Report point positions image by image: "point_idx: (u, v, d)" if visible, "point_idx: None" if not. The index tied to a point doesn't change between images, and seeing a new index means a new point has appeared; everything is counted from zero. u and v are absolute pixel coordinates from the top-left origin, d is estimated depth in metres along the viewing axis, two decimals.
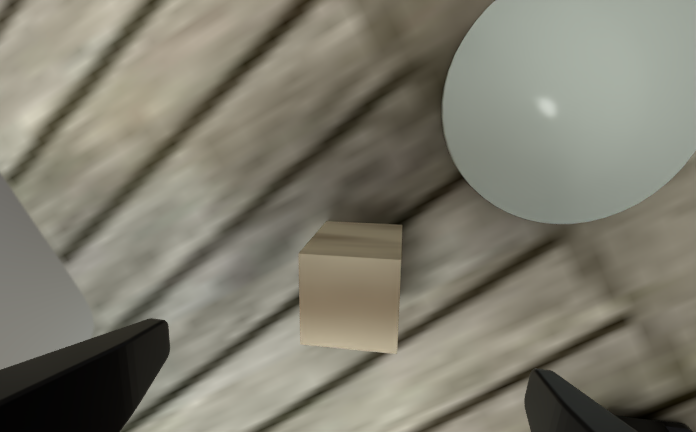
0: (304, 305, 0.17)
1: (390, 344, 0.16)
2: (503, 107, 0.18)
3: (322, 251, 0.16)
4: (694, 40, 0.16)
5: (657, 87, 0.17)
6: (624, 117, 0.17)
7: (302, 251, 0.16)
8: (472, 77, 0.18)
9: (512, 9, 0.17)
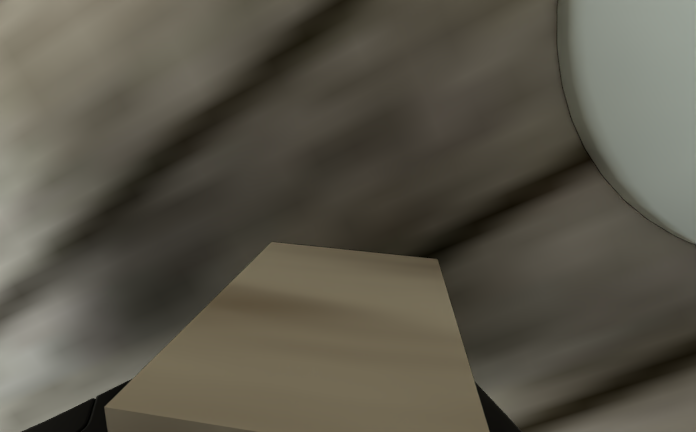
0: None
1: None
2: None
3: (204, 389, 0.05)
4: None
5: None
6: None
7: (130, 388, 0.05)
8: None
9: None
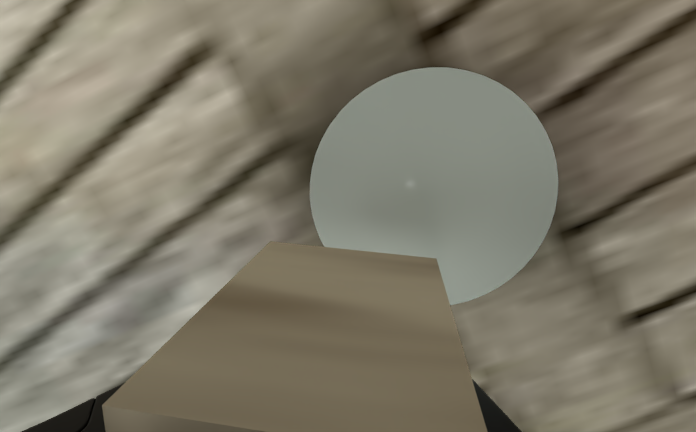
0: None
1: None
2: (364, 195, 0.18)
3: (203, 388, 0.05)
4: (536, 154, 0.17)
5: (502, 192, 0.17)
6: (473, 216, 0.18)
7: (128, 387, 0.05)
8: (336, 164, 0.18)
9: (373, 105, 0.17)
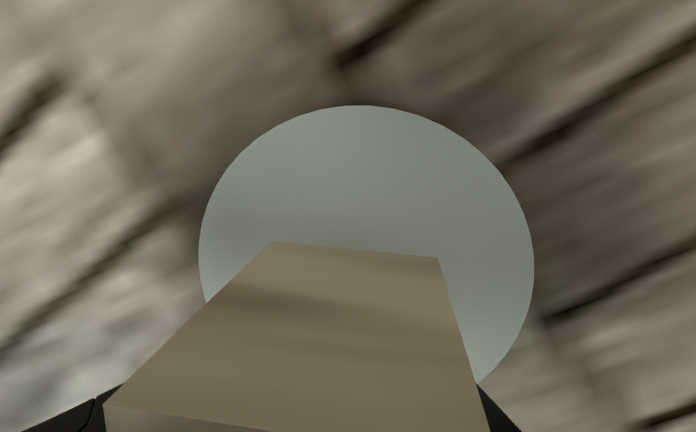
0: None
1: None
2: None
3: (204, 386, 0.05)
4: (501, 223, 0.12)
5: (457, 274, 0.13)
6: None
7: (129, 386, 0.05)
8: (230, 237, 0.13)
9: (271, 159, 0.12)
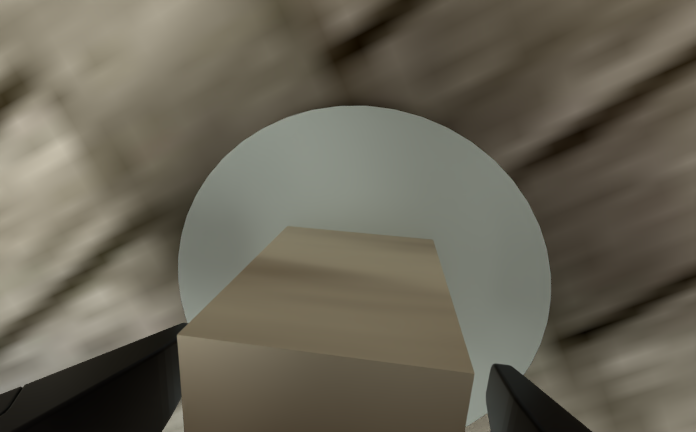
0: None
1: None
2: None
3: (249, 324, 0.06)
4: (514, 237, 0.11)
5: (465, 294, 0.11)
6: None
7: (193, 324, 0.06)
8: (213, 251, 0.12)
9: (257, 165, 0.11)
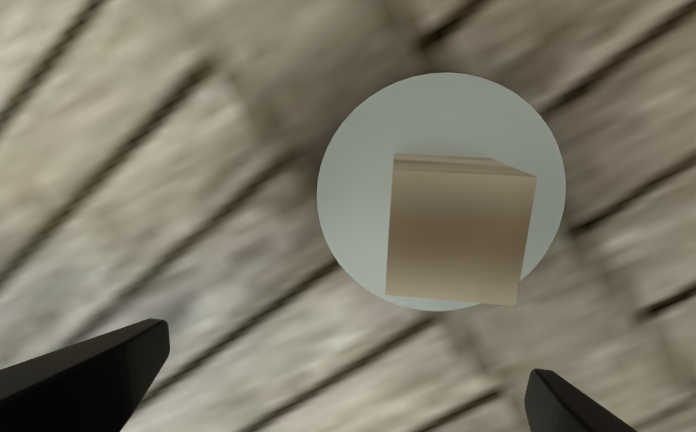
0: (395, 242, 0.13)
1: (508, 293, 0.12)
2: (372, 203, 0.18)
3: (422, 169, 0.12)
4: (541, 153, 0.17)
5: None
6: None
7: (395, 168, 0.12)
8: (342, 173, 0.18)
9: (375, 114, 0.17)
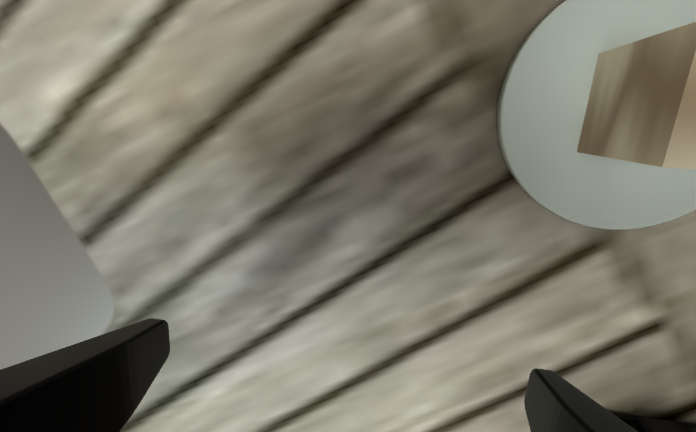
0: (687, 104, 0.12)
1: None
2: (565, 109, 0.18)
3: None
4: None
5: None
6: None
7: None
8: (537, 76, 0.17)
9: (585, 9, 0.16)
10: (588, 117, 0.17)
